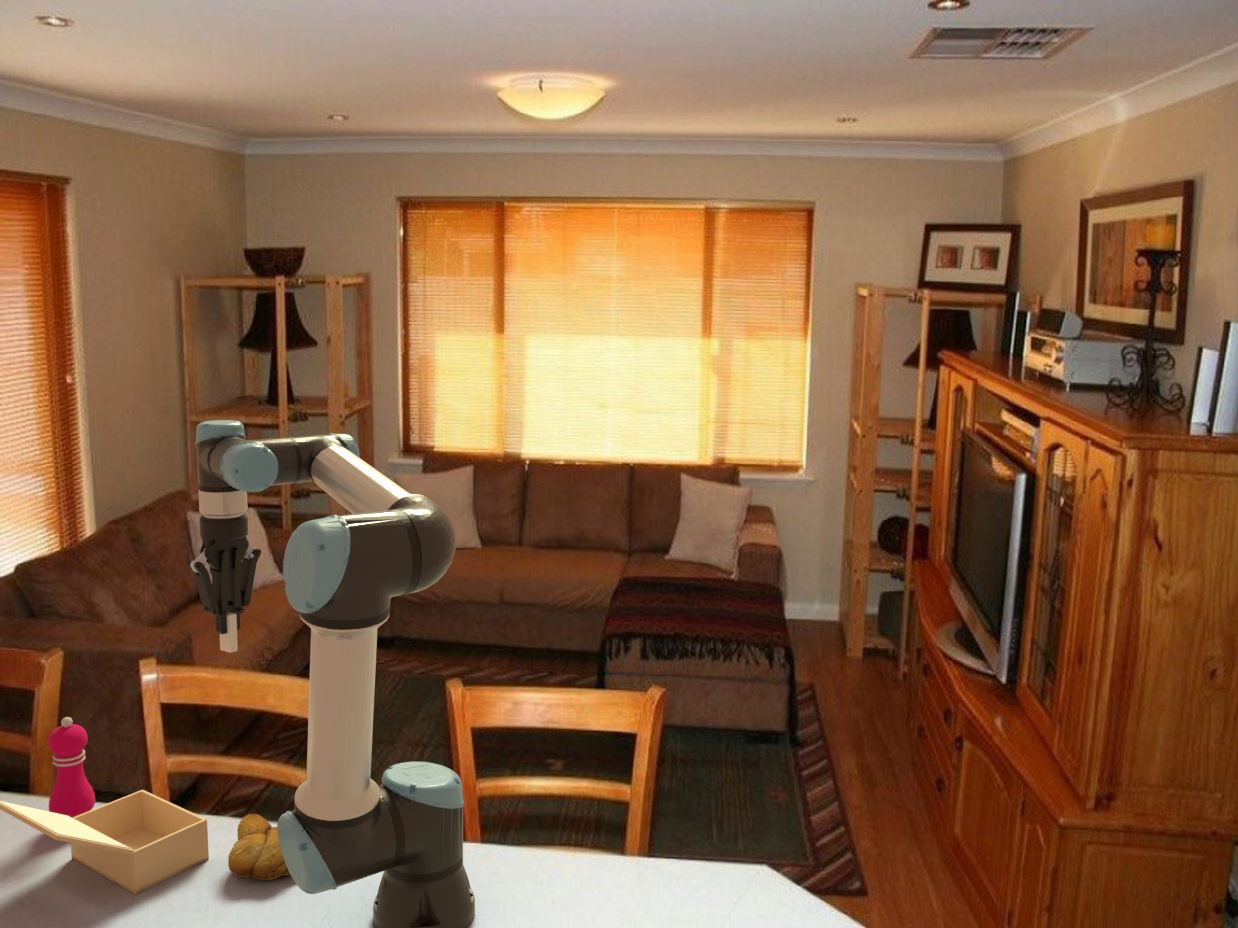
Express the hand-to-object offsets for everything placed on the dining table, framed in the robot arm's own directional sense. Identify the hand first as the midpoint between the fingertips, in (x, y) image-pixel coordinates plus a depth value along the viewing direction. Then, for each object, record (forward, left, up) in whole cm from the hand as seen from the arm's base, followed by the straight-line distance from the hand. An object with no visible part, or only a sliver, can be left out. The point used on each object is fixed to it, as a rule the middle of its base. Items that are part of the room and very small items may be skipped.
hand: (229, 650), depth 183 cm
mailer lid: (+4, +28, -21) cm, 35 cm away
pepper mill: (+23, +16, -33) cm, 43 cm away
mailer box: (+4, +15, -32) cm, 36 cm away
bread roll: (-16, +5, -33) cm, 37 cm away
